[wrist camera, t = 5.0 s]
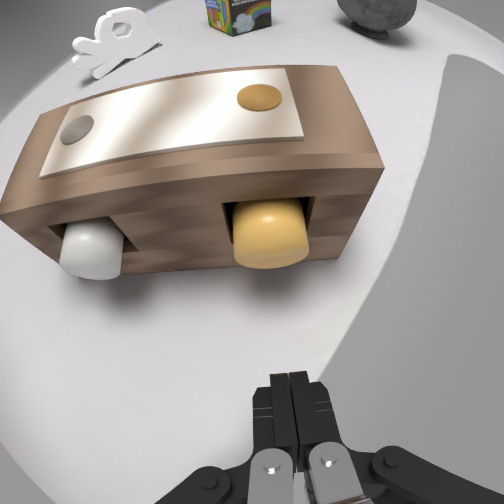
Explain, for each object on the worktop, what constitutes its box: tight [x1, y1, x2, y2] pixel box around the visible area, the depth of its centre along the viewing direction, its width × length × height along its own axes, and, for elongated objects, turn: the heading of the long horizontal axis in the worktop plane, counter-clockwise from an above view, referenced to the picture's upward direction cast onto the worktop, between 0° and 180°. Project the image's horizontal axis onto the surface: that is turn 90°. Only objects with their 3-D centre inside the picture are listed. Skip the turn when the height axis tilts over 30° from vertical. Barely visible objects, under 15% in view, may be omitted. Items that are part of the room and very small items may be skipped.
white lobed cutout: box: [71, 7, 161, 79], centre depth 37 cm, size 3×15×11 cm, turn 131°
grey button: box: [59, 216, 124, 280], centre depth 18 cm, size 4×3×4 cm
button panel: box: [0, 65, 385, 275], centre depth 21 cm, size 24×10×12 cm, turn 94°
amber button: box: [232, 197, 309, 269], centre depth 18 cm, size 4×3×4 cm
